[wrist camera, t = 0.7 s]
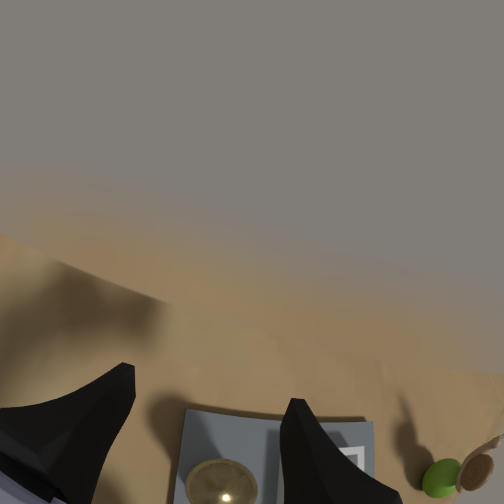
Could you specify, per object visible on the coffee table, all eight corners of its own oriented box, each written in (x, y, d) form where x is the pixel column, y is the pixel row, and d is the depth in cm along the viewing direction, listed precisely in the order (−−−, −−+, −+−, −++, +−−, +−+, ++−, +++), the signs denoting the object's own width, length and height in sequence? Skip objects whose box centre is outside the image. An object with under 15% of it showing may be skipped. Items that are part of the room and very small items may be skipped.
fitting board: (365, 530, 17) (385, 533, 15) (169, 538, 14) (169, 549, 12) (367, 422, 27) (386, 416, 24) (186, 409, 24) (188, 403, 21)
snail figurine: (446, 460, 24) (518, 436, 15) (433, 501, 19) (509, 488, 11) (423, 451, 25) (498, 426, 16) (407, 495, 20) (488, 483, 12)
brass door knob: (236, 509, 17) (255, 521, 13) (179, 502, 17) (182, 515, 12) (241, 461, 21) (260, 461, 17) (185, 454, 20) (189, 453, 16)
